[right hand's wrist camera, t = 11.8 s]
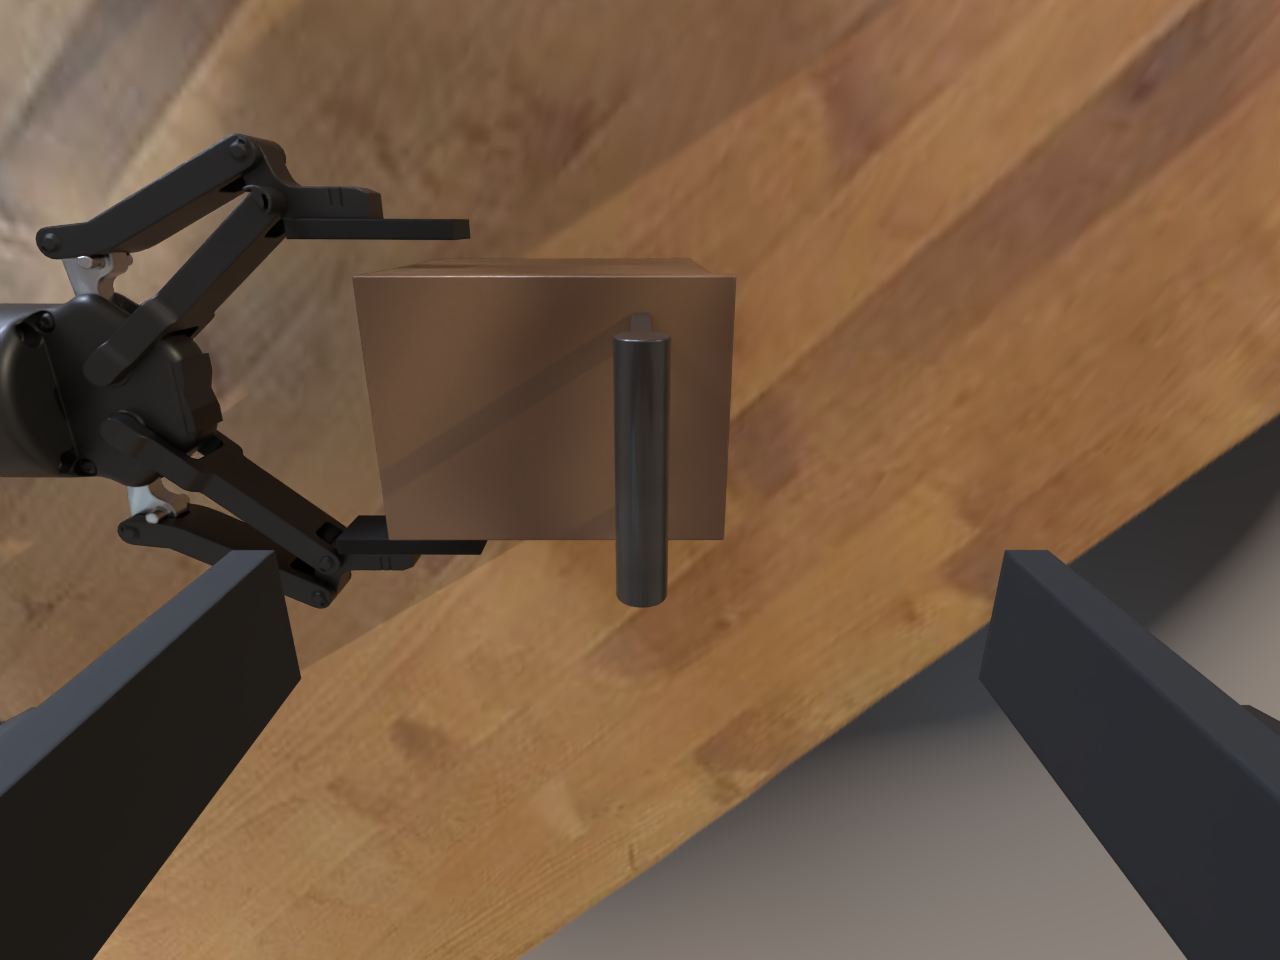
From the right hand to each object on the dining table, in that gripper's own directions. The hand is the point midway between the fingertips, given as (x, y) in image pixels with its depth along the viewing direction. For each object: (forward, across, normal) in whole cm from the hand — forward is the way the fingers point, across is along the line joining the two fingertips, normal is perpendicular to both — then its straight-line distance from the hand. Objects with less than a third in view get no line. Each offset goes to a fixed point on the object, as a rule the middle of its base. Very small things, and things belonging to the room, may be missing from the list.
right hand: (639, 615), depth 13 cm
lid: (+15, -3, 0) cm, 15 cm away
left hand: (+19, -7, 0) cm, 20 cm away
